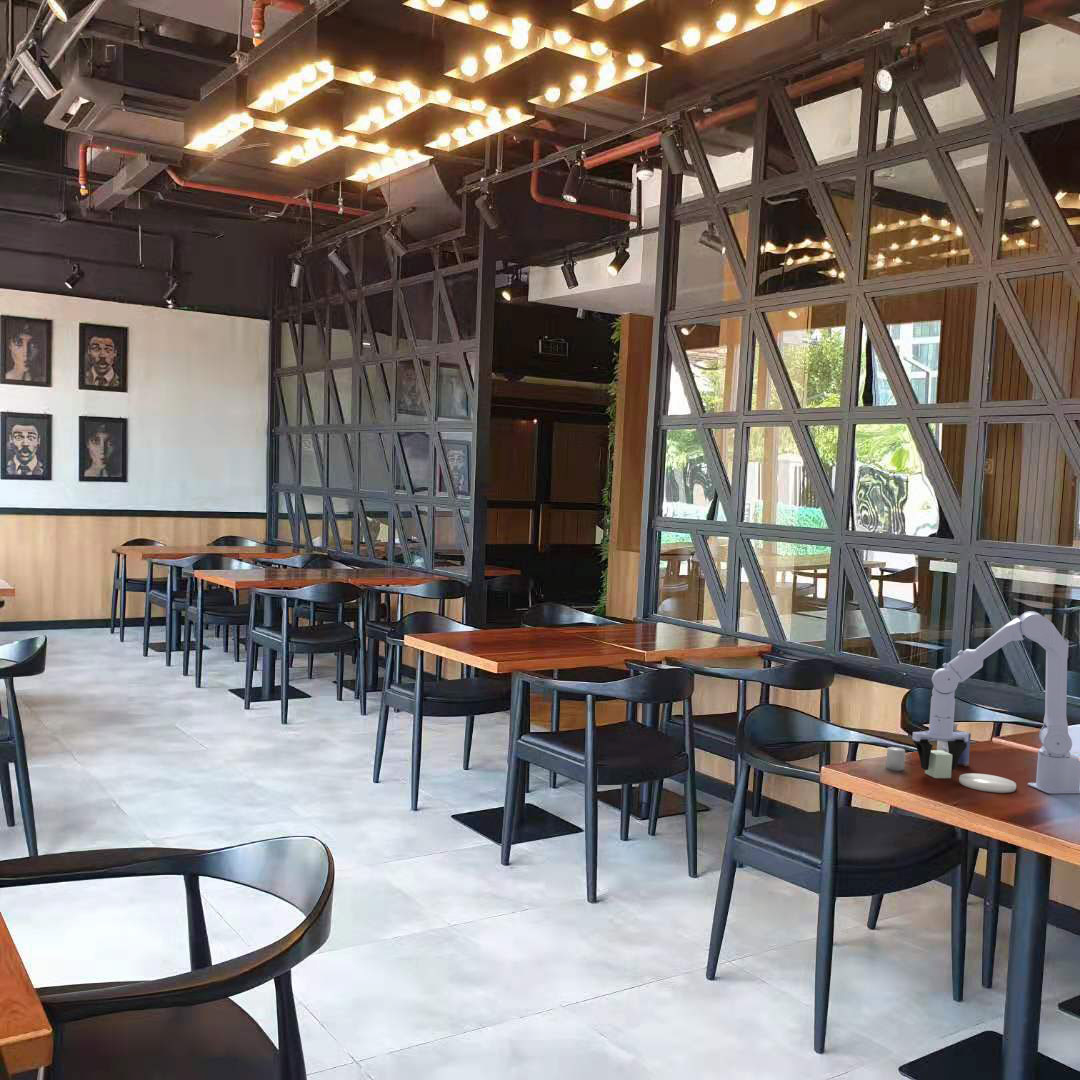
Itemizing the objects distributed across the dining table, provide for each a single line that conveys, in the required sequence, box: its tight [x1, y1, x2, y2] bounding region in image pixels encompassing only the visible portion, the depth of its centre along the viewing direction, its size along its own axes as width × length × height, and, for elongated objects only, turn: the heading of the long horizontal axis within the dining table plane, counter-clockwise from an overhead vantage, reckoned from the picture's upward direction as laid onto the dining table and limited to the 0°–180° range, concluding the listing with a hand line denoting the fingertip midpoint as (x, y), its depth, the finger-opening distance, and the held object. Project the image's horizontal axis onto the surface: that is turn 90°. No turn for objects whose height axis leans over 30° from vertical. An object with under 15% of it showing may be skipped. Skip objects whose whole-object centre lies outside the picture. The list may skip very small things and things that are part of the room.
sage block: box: [924, 749, 952, 779], centre depth 274 cm, size 4×4×6 cm
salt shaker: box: [936, 741, 949, 753], centre depth 283 cm, size 4×4×9 cm
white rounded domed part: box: [885, 746, 906, 772], centre depth 279 cm, size 4×4×5 cm
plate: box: [958, 772, 1017, 794], centre depth 267 cm, size 13×13×1 cm
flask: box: [953, 722, 972, 767], centre depth 289 cm, size 9×3×11 cm, turn 37°
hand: (938, 768), depth 274 cm, fingers open, 7 cm apart
